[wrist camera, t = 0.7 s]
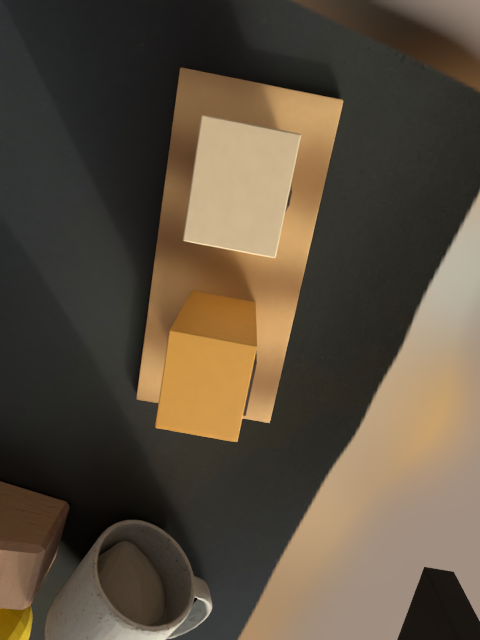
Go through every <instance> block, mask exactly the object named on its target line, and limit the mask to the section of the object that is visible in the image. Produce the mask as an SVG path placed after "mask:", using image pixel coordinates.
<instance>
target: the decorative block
mask: <svg viewBox="0 0 480 640" xmlns="http://www.w3.org/2000/svg"><path fill="white" fill-rule="evenodd" d="M69 508H70V507H69V505H68V503H67V502H66V501H63V500H59V499H56V498H53V497H50V496H46V495H43V494H40V493H36V492H33V491H30V490H27V489H23V488H20V487H17V486H14V485H10V484H7V483H4V482H1V481H0V608H6V609H17V610H23V609H25V608H27V607H29V606H30V605H31V603H32V601H33V599H34V597H35V595H36V593H37V592H38V590H39V588H40V586H41V584H42V582H43V580H44V578H45V576H46V574H47V573H48V571H49V569H50V567H51V565H52V563H53V561H54V559H55V557H56V554H57V550H58V547H59V543H60V540H61V536H62V533H63V529H64V526H65V522H66V519H67V515H68V512H69Z"/></svg>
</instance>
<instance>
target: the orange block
mask: <svg viewBox="0 0 480 640" xmlns="http://www.w3.org/2000/svg"><path fill="white" fill-rule="evenodd" d="M256 350H257V325H256V302H252V301H246V300H241V299H236V298H230V297H225V296H219V295H214V294H209V293H203V292H198V291H191V293H190V295H189V297H188V298H187V300H186V302H185V304H184V306H183V307H182V309H181V311H180V313H179V314H178V316H177V318H176V320H175V322H174V323H173V325H172V327H171V329H170V330H169V336H168V343H167V350H166V357H165V363H164V370H163V377H162V384H161V390H160V397H159V404H158V411H157V417H156V424H155V428H160V429H165V430H171V431H177V432H182V433H188V434H194V435H199V436H205V437H210V438H216V439H222V440H227V441H233V442H237V441H238V436H239V432H240V427H241V422H242V417H243V416H246V413H247V408H248V403H249V399H250V394H251V389H252V384H253V380H254V375H255V370H256V365H257V352H256Z"/></svg>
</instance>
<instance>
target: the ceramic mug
mask: <svg viewBox="0 0 480 640" xmlns="http://www.w3.org/2000/svg"><path fill="white" fill-rule="evenodd" d="M194 598H197V599H198V600H197V601H196V602H195V603H193V602H194ZM211 610H212V601H211V596H210V592H209V588H208V586H207V583H206V582H205V581H204V580H203V579H201V578H199V577H197V576H194V575H193V571H192V568H191V564H190V562H189V560H188V558H187V556H186V554H185V553H184V551H183V550H182V548H181V547H180V545H179V544H178V543H177V542H176V541H175V540H174V539H173V538H172V537H171V536H170V535H169V534H168V533H166V532H165V531H164V530H162V529H161V528H159V527H157V526H155V525H153V524H151V523H149V522H145V521H141V520H125V521H121V522H118V523H116V524H113V525H112V526H110V527H109V528H107V529H106V530H105V531H104V532H103V533H102V534H101V535H100V537H99V538H98V539H97V541H96V542H95V543H94V545H93V546H92V548H91V549H90V550H89V552H88V553H87V554H86V556H85V557H84V558H83V560H82V561H81V562H80V564H79V565H78V566H77V568H76V569H75V571H74V572H73V574H72V575H71V576H70V578H69V579H68V580H67V582H66V583H65V584H64V586H63V587H62V588H61V590H60V591H59V592H58V594H57V596H56V597H55V599H54V602H53V604H52V606H51V608H50V610H49V612H48V616H47V620H46V625H45V640H165V639H171V638H174V637H177V636H180V635H182V634H184V633H186V632H188V631H190V630H192V629H194V628H195V627H197V626H198V625H199V624H200V623H202V622H203V621H204V620H205V619H206V618H207V617H208V615H209V614H210V612H211Z"/></svg>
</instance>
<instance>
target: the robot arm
mask: <svg viewBox="0 0 480 640" xmlns="http://www.w3.org/2000/svg"><path fill="white" fill-rule="evenodd" d="M398 640H480V621H479V619H478V618H477V616H476V614H475V612H474V610H473V608H472V606H471V604H470V602H469V600H468V599H467V597H466V595H465V593H464V591H463V589H462V587H461V585H460V583H459V581H458V579H457V577H456V576H455V574H454V572H451V571H445V570H439V569H433V568H427V567H424V570H423V572H422V575H421V578H420V581H419V583H418V586H417V588H416V591H415V594H414V597H413V599H412V602H411V605H410V607H409V610H408V613H407V616H406V618H405V621H404V624H403V626H402V629H401V632H400V634H399V637H398Z"/></svg>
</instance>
